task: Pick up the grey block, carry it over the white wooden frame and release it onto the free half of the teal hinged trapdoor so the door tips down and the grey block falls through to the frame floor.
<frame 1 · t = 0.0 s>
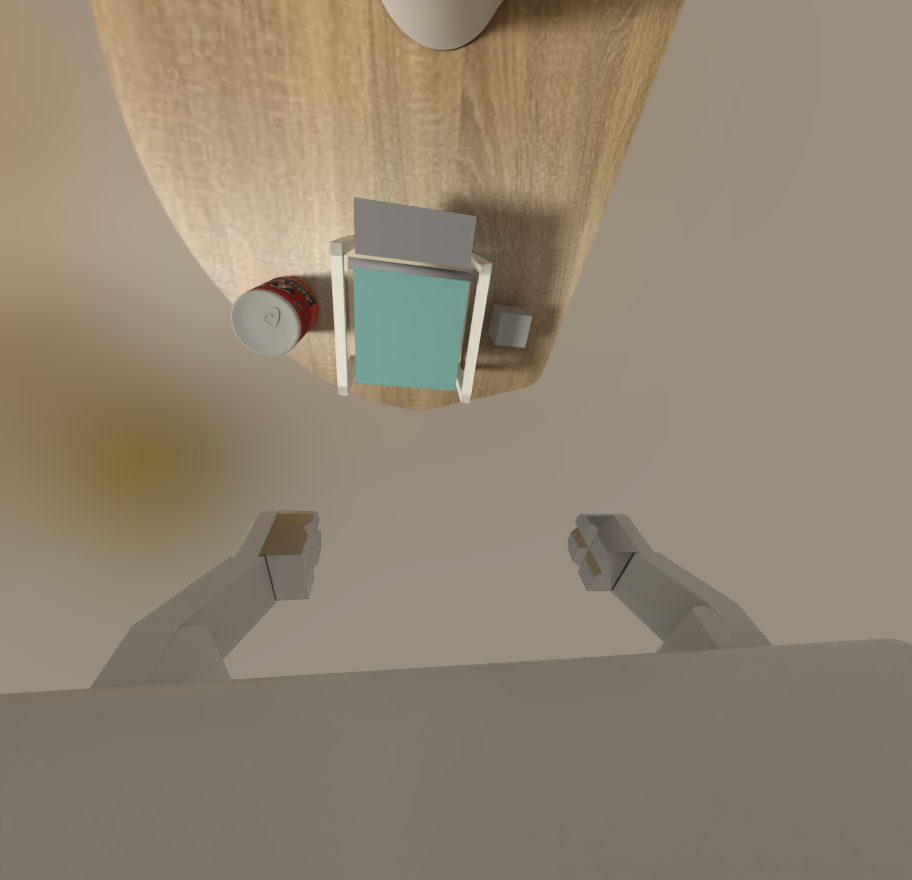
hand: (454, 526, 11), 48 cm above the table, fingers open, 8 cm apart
grey block: (504, 320, 56), on the table
trapdoor: (411, 307, 41), point 12 cm above the table, hinge at 0.0°
canned food: (291, 304, 51), on the table
frame: (409, 310, 53), on the table
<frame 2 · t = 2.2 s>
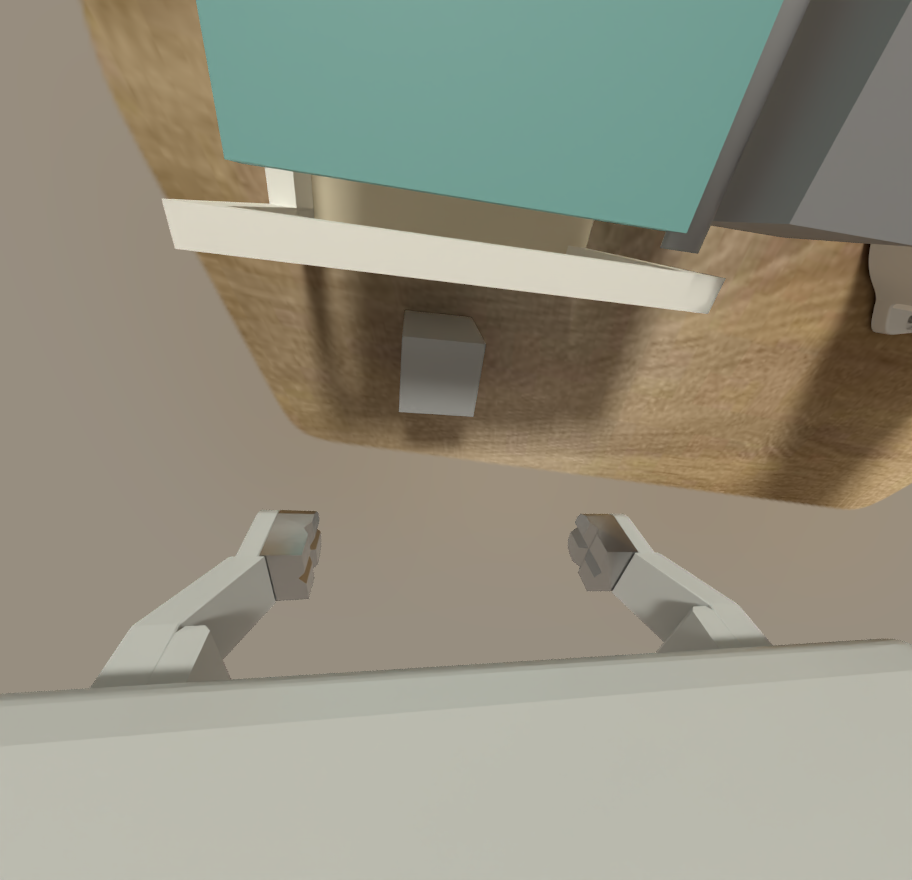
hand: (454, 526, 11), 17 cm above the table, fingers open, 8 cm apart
grey block: (435, 346, 25), on the table
frame: (464, 47, 17), on the table
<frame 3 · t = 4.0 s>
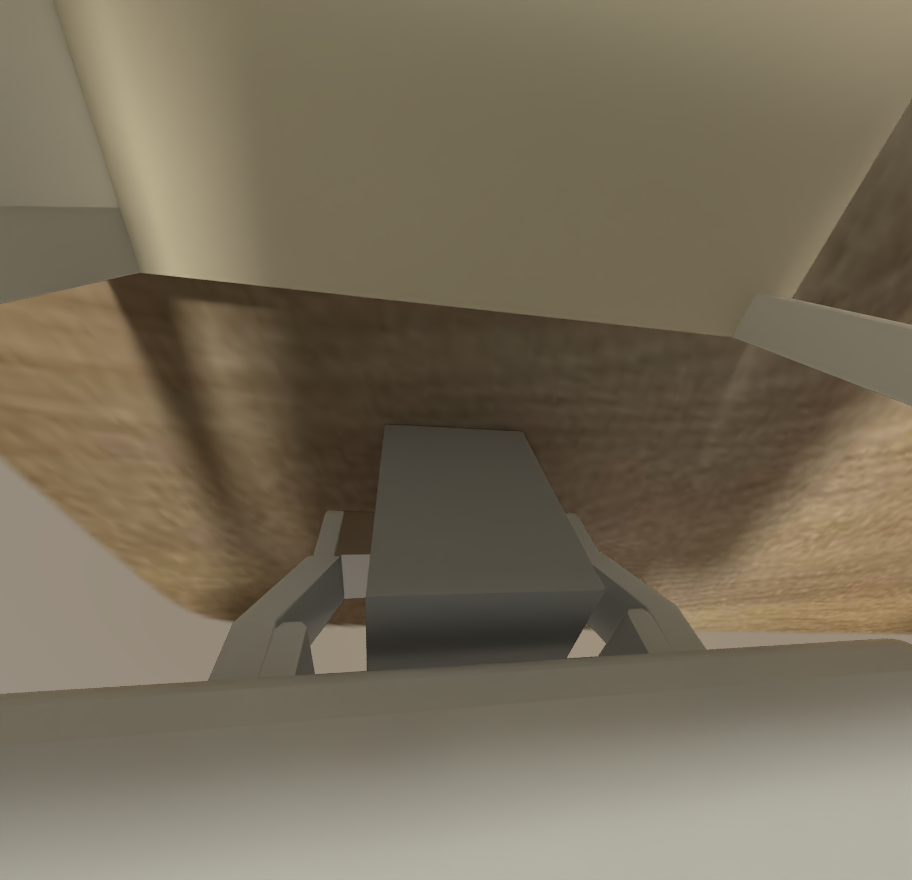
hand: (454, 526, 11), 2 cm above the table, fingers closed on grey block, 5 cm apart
grey block: (447, 482, 13), on the table, touching gripper
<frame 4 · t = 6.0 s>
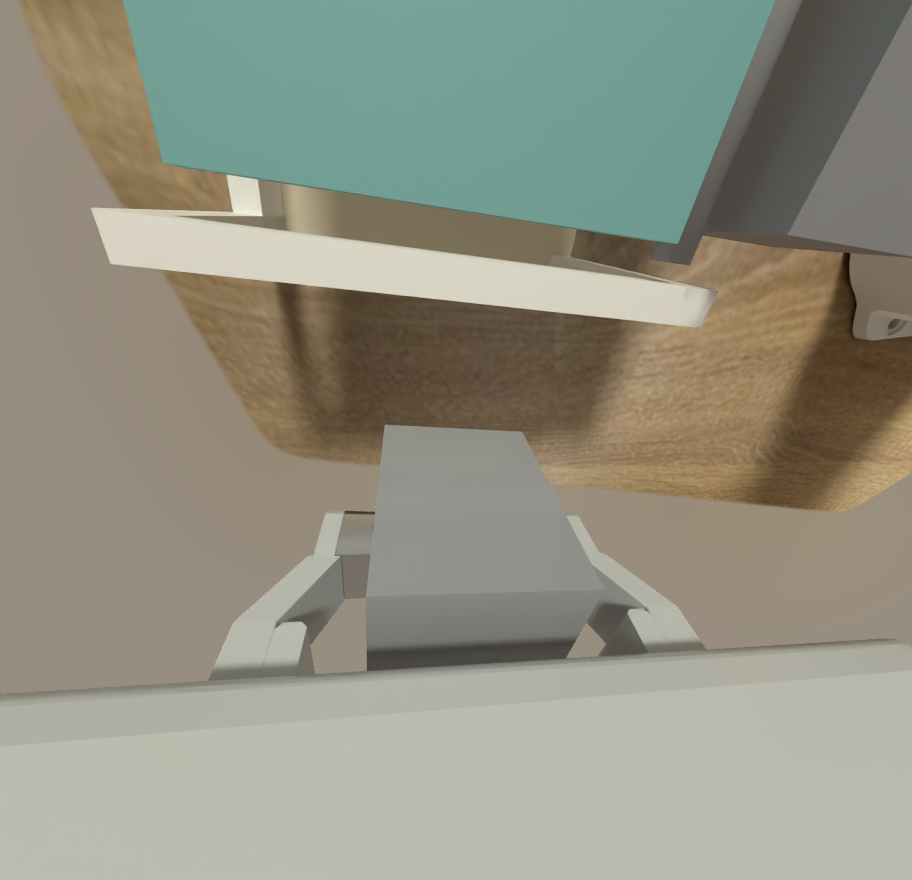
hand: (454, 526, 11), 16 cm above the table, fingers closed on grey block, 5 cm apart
grey block: (447, 482, 13), point 14 cm above the table, touching gripper
frame: (439, 50, 16), on the table
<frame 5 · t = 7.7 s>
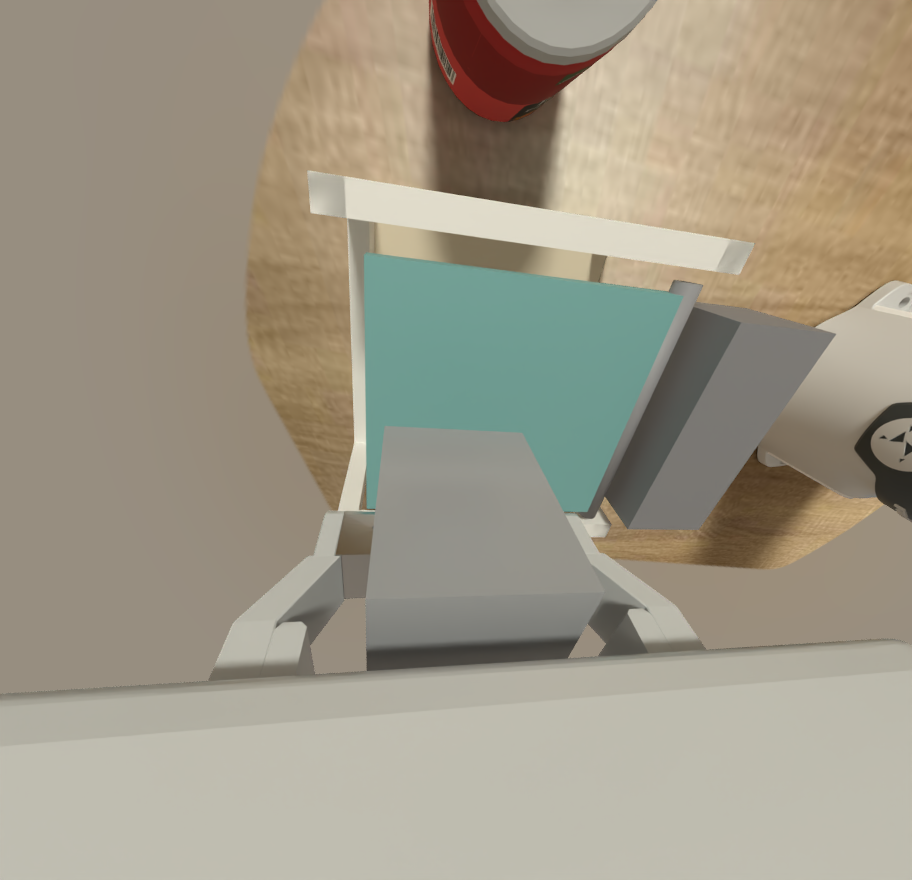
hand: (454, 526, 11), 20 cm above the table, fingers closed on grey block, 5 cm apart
grey block: (447, 483, 13), point 18 cm above the table, touching gripper
trapdoor: (559, 415, 19), point 12 cm above the table, hinge at 0.0°
canned food: (499, 31, 19), on the table
frame: (471, 341, 28), on the table
when the fingers open (18 cm above the table, at t = 8.3 s): grey block drops 10 cm and tips over, resting on trapdoor.
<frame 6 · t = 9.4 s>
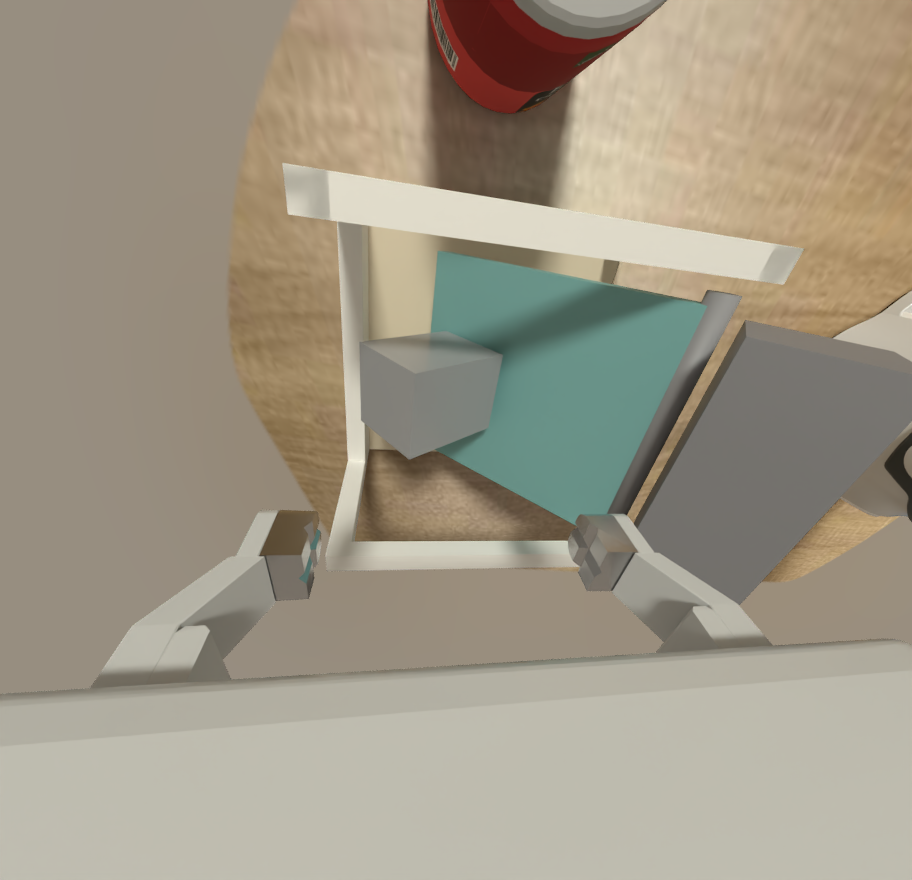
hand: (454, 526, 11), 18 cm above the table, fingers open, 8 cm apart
grey block: (467, 379, 21), point 5 cm above the table, tilted 53°, touching trapdoor
trapdoor: (572, 413, 19), point 9 cm above the table, hinge at -43.3°, touching grey block
canned food: (505, 12, 17), on the table
frame: (473, 351, 26), on the table
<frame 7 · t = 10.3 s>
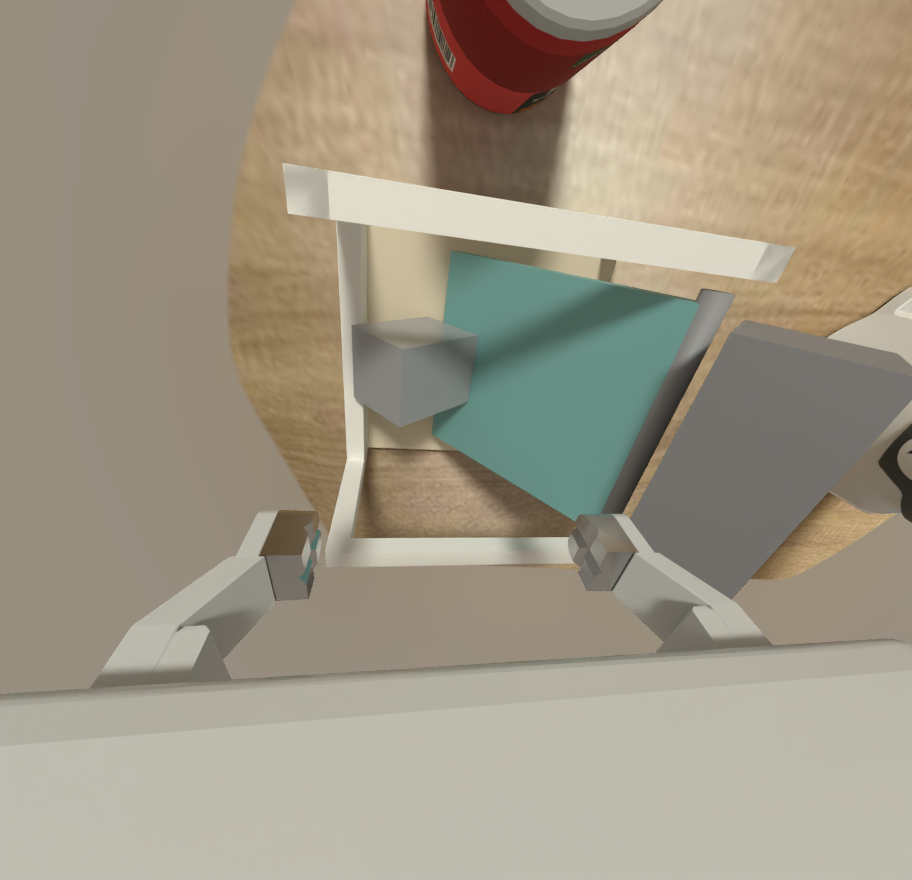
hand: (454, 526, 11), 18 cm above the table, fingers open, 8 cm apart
grey block: (447, 359, 24), point 2 cm above the table, tilted 50°, touching frame, trapdoor
trapdoor: (572, 409, 20), point 9 cm above the table, hinge at -49.0°, touching grey block
canned food: (502, 14, 17), on the table
frame: (471, 350, 26), on the table
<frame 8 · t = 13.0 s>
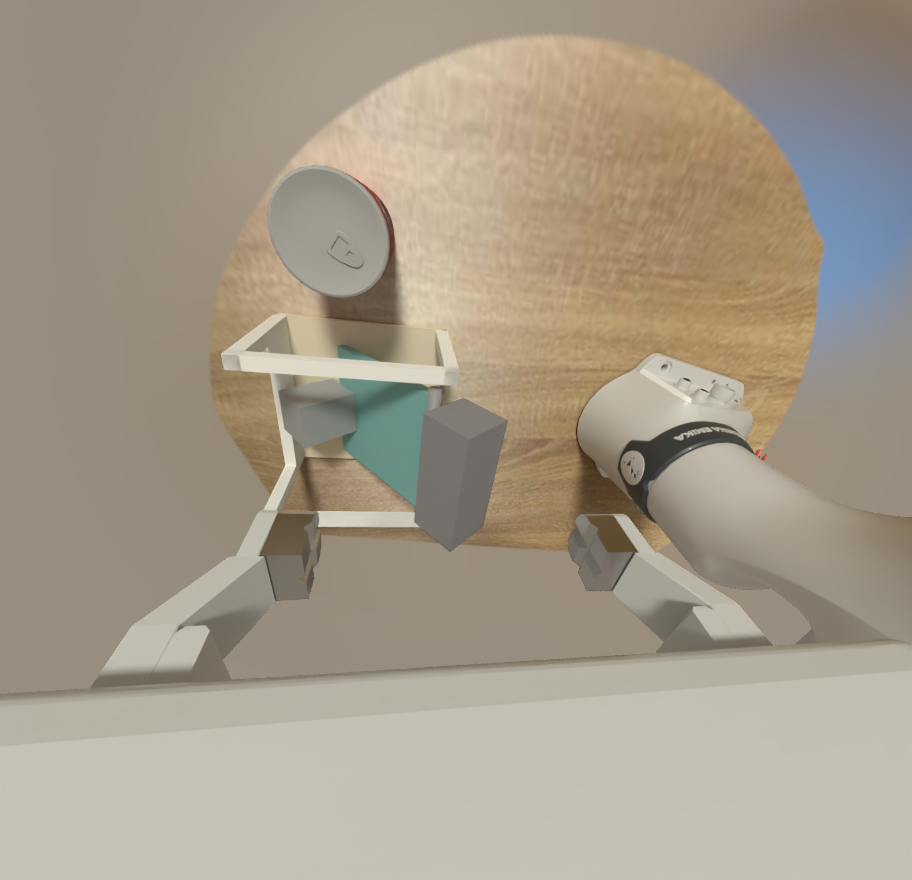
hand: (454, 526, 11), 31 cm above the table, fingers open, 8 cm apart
grey block: (344, 404, 39), point 2 cm above the table, tilted 50°, touching frame, trapdoor
trapdoor: (400, 438, 35), point 9 cm above the table, hinge at -49.0°, touching grey block
canned food: (352, 230, 33), on the table
frame: (365, 396, 42), on the table
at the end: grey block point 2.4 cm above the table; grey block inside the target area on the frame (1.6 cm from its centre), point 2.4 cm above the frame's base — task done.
